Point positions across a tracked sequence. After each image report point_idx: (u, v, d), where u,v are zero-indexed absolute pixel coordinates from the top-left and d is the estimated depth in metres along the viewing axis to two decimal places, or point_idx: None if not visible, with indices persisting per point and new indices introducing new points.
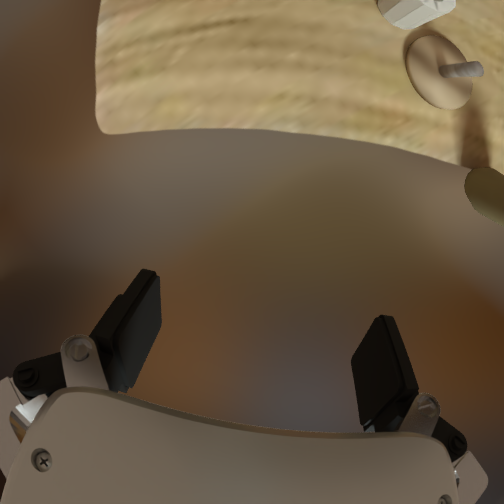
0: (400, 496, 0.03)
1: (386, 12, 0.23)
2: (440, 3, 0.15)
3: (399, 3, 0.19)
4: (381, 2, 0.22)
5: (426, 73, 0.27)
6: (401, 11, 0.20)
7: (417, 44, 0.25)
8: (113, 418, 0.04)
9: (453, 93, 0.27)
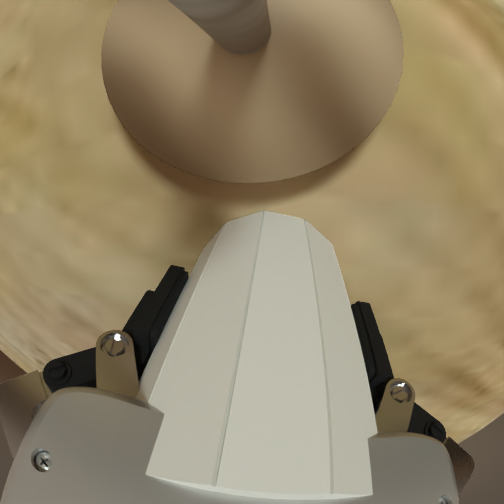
0: (400, 496, 0.03)
1: None
2: None
3: None
4: None
5: (338, 48, 0.08)
6: None
7: (309, 160, 0.10)
8: (113, 418, 0.04)
9: None
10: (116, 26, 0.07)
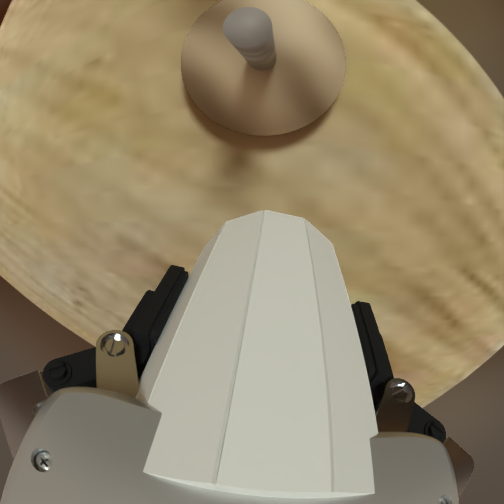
0: (400, 496, 0.03)
1: None
2: None
3: None
4: None
5: (310, 67, 0.16)
6: None
7: (295, 124, 0.18)
8: (113, 418, 0.04)
9: None
10: (190, 47, 0.16)
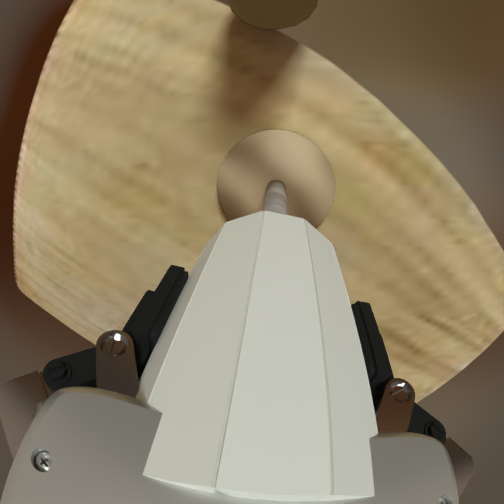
0: (400, 496, 0.03)
1: None
2: None
3: None
4: None
5: (309, 196, 0.28)
6: None
7: None
8: (113, 418, 0.04)
9: (275, 153, 0.26)
10: (223, 175, 0.27)
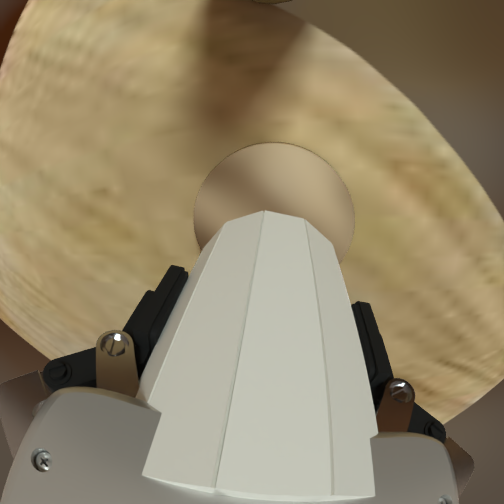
0: (400, 496, 0.03)
1: None
2: None
3: None
4: None
5: None
6: None
7: None
8: (113, 418, 0.04)
9: (273, 178, 0.19)
10: (201, 207, 0.20)
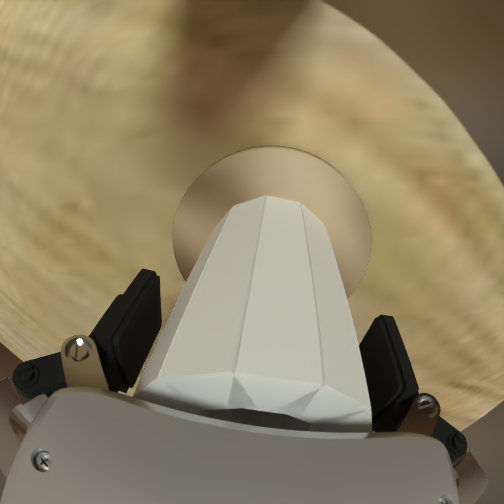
0: (400, 496, 0.03)
1: None
2: (259, 405, 0.06)
3: None
4: None
5: None
6: None
7: None
8: (113, 418, 0.04)
9: (270, 193, 0.15)
10: (181, 229, 0.16)
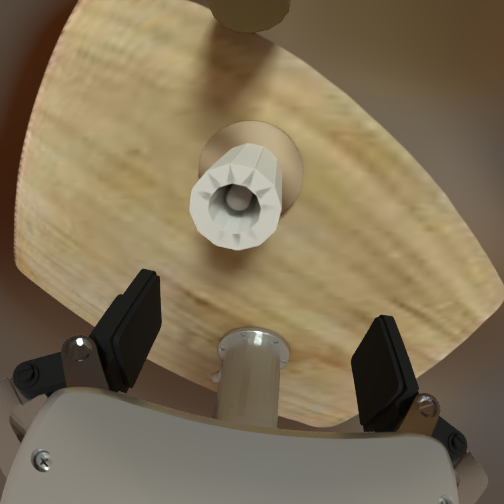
0: (400, 496, 0.03)
1: (281, 177, 0.29)
2: (237, 180, 0.20)
3: (281, 189, 0.25)
4: None
5: None
6: (278, 175, 0.25)
7: None
8: (113, 418, 0.04)
9: (249, 142, 0.29)
10: (204, 160, 0.30)
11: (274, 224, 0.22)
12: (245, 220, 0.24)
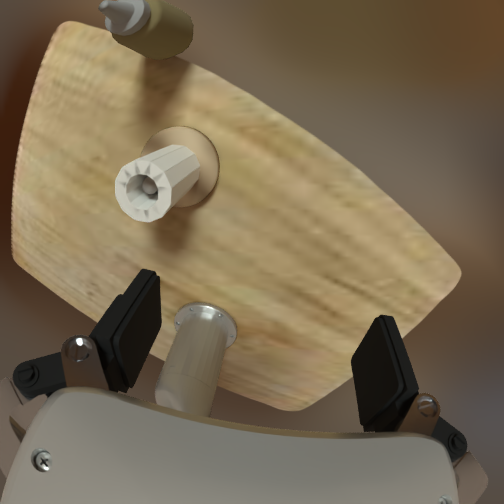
0: (400, 496, 0.03)
1: (196, 168, 0.36)
2: (140, 171, 0.27)
3: (184, 176, 0.31)
4: (195, 181, 0.36)
5: None
6: (184, 166, 0.32)
7: (194, 201, 0.40)
8: (113, 418, 0.04)
9: (173, 143, 0.36)
10: None
11: (168, 200, 0.28)
12: None
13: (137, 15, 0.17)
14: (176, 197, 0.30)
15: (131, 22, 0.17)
